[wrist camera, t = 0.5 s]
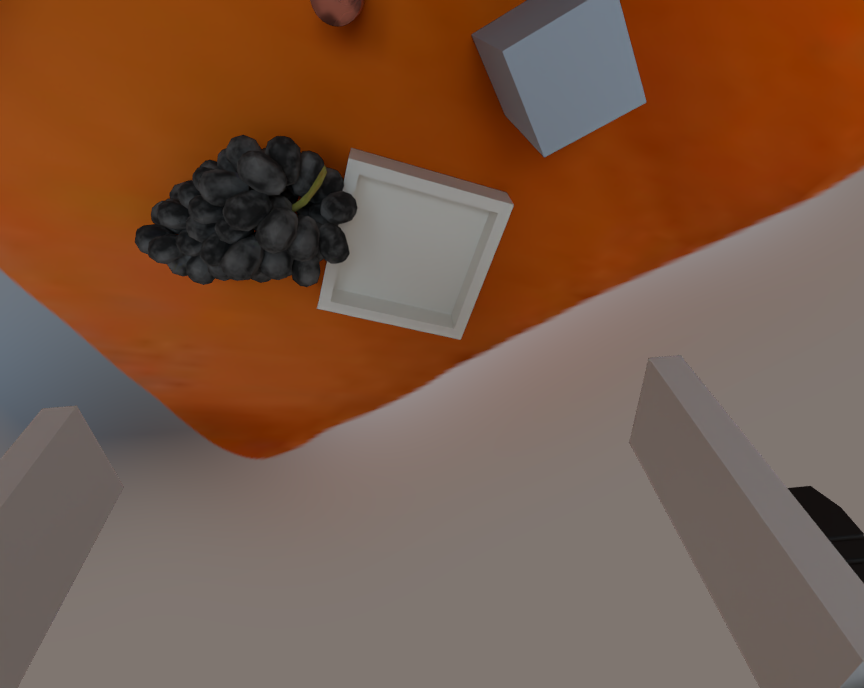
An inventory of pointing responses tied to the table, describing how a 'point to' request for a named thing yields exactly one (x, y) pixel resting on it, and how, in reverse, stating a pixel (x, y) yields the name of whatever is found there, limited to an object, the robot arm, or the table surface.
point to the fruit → (252, 216)
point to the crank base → (337, 10)
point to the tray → (414, 246)
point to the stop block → (561, 68)
